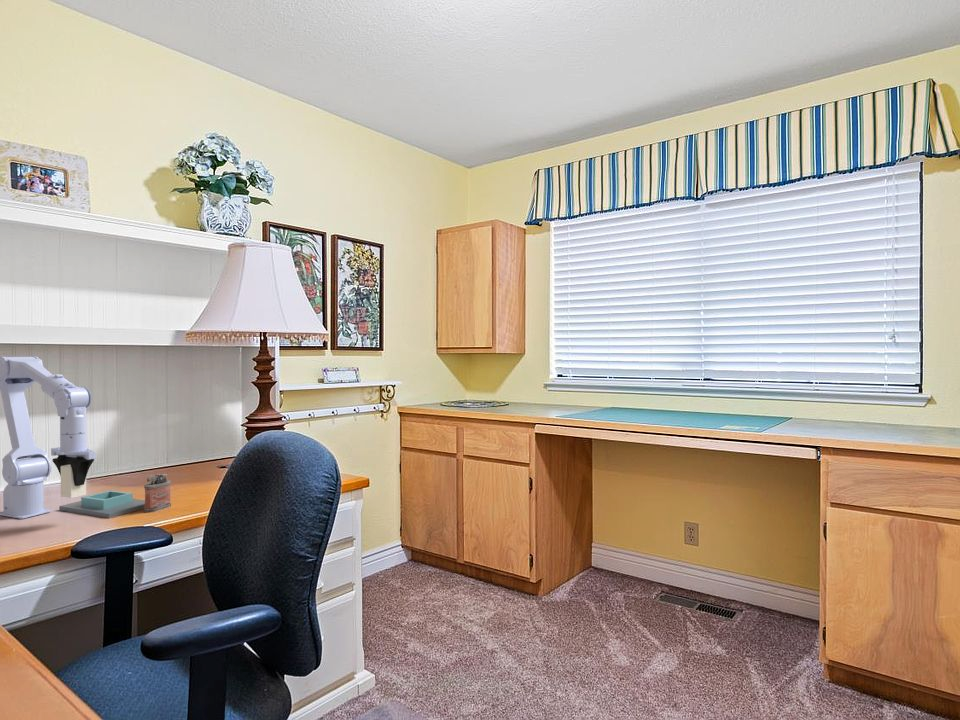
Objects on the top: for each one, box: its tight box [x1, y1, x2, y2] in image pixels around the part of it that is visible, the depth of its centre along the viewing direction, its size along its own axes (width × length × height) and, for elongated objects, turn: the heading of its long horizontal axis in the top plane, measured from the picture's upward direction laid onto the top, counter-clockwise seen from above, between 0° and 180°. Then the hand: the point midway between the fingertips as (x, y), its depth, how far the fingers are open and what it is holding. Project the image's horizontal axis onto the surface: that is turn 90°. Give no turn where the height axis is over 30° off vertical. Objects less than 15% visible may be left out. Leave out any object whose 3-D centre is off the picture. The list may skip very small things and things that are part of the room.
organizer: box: [58, 490, 145, 519], centre depth 173 cm, size 20×14×4 cm
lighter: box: [143, 473, 172, 513], centre depth 173 cm, size 8×3×10 cm, turn 159°
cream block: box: [60, 465, 87, 499], centre depth 158 cm, size 4×4×8 cm
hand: (73, 484), depth 158 cm, fingers closed on cream block, 4 cm apart
